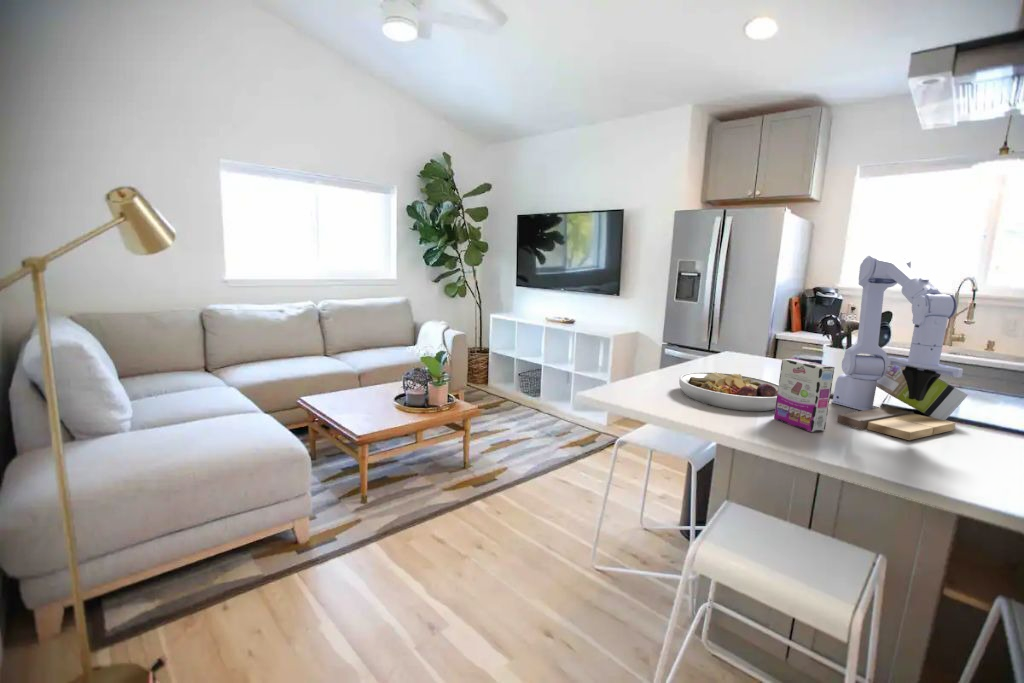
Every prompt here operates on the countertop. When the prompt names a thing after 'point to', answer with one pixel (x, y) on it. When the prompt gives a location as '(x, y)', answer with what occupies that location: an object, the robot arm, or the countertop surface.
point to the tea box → (936, 400)
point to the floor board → (870, 416)
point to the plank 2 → (929, 422)
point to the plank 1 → (900, 428)
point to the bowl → (730, 390)
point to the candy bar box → (804, 394)
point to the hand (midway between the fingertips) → (916, 399)
